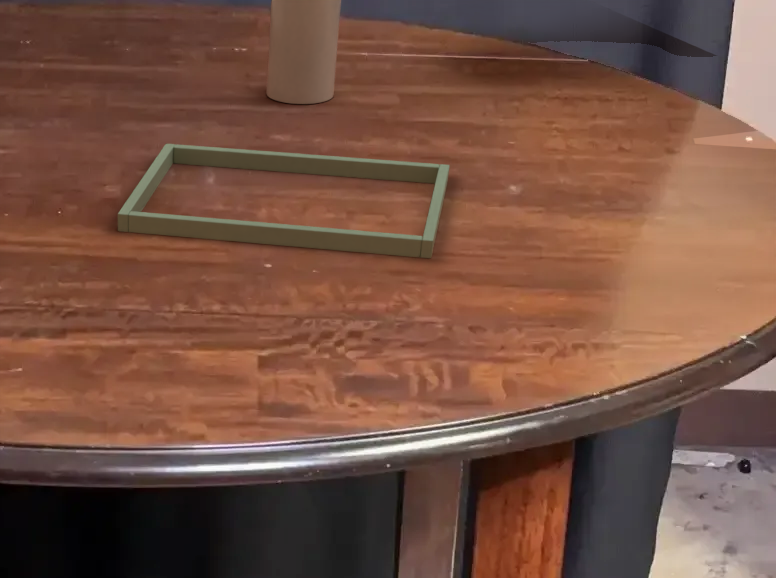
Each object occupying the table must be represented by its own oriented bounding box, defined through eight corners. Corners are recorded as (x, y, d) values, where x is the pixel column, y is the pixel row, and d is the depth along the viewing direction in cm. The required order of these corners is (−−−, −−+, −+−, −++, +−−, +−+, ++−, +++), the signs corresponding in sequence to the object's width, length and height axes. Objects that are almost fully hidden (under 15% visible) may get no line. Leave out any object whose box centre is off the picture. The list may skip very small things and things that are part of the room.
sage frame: (445, 199, 90) (449, 164, 89) (428, 278, 81) (433, 240, 80) (165, 176, 94) (165, 143, 93) (117, 249, 84) (117, 213, 83)
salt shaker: (338, 86, 109) (350, -76, 103) (329, 106, 105) (342, -61, 99) (272, 82, 110) (280, -79, 104) (261, 101, 106) (269, -65, 100)
